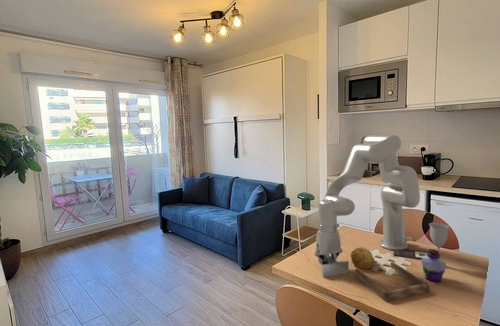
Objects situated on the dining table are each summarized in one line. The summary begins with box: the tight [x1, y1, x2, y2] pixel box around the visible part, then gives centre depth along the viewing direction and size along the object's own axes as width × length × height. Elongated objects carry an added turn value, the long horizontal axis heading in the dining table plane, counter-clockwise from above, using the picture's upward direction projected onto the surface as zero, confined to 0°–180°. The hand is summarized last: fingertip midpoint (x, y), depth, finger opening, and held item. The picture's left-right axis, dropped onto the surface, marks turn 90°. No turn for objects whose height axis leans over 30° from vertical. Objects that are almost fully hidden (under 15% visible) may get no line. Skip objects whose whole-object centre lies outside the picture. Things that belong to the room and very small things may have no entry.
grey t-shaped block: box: [317, 253, 350, 278], centre depth 122 cm, size 12×13×5 cm
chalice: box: [428, 222, 450, 261], centre depth 118 cm, size 7×7×18 cm
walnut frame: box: [354, 262, 430, 303], centre depth 107 cm, size 18×18×3 cm
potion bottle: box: [420, 248, 447, 284], centre depth 108 cm, size 9×9×12 cm
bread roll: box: [350, 246, 375, 270], centre depth 124 cm, size 13×10×8 cm
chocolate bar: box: [393, 248, 429, 261], centre depth 130 cm, size 9×1×18 cm
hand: (329, 267), depth 122 cm, fingers closed on grey t-shaped block, 3 cm apart
